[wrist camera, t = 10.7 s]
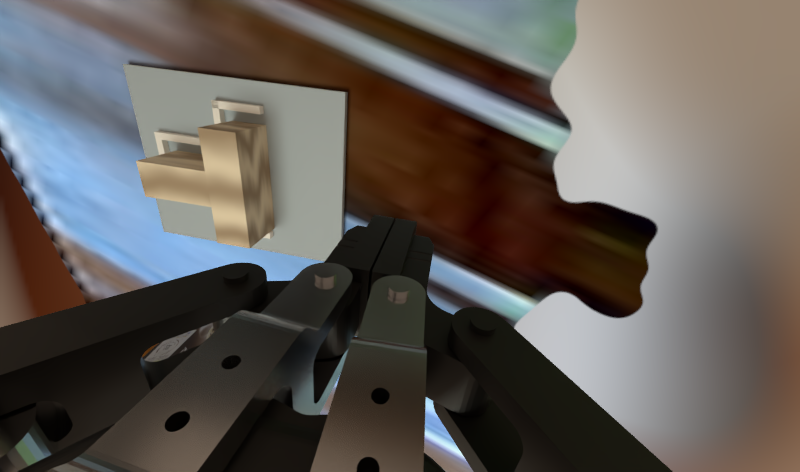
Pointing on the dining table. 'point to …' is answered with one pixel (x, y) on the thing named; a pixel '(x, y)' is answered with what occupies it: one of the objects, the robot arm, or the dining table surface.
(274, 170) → the board
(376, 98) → the dining table surface
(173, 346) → the coffee box
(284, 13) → the dining table surface
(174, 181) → the t block
